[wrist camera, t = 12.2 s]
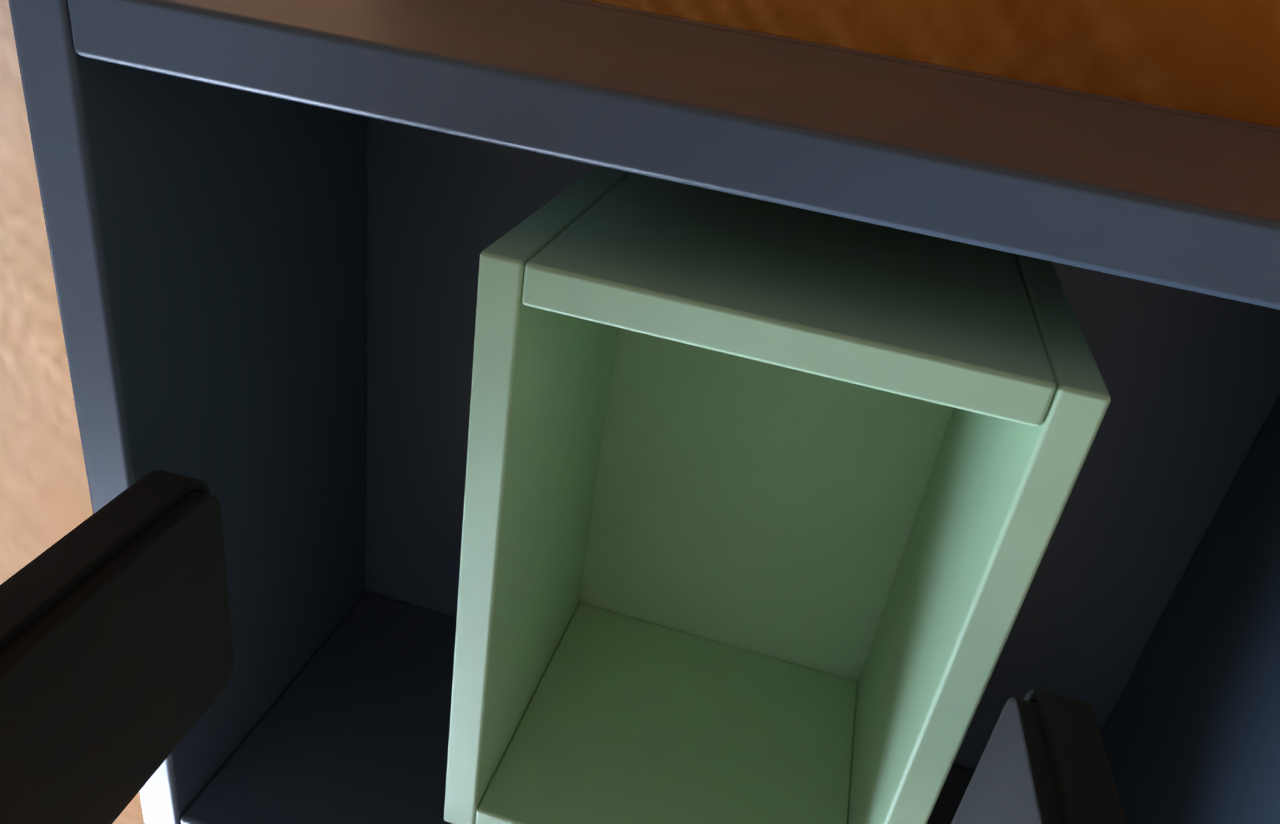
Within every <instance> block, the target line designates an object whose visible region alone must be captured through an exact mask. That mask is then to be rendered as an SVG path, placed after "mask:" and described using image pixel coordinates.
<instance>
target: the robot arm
mask: <svg viewBox="0 0 1280 824" xmlns="http://www.w3.org/2000/svg"><path fill="white" fill-rule="evenodd" d="M233 663H234V658H233V646H232V634H231V622H230V611H229V599H228V587H227V576H226V564H225V552H224V541H223V529H222V517H221V507H220V502H219V500H218V499H217V497H215V496H213V495H211V493H210V489H209V487H208V485H207V484H206V482H204V481H202V480H199V479H195V478H191V477H187V476H183V475H179V474H175V473H171V472H167V471H163V470H153V471H151V472H149V473H147V474H145V475H144V476H143V477H141V478H140V479H139V480H137V481H136V482H135V483H134V484H132V485H131V486H130V487H128V488H127V489H126V490H124V491H123V492H122V493H120V494H119V495H118V496H117V497H115V498H114V499H113V500H111V501H110V502H109V503H107V504H106V505H105V506H103V507H102V508H101V509H100V510H98V511H97V512H96V513H94V514H93V515H92V516H90V517H89V518H88V519H86V520H85V521H84V522H82V523H81V524H80V525H79V526H77V527H76V528H75V529H73V530H72V531H71V532H69V533H68V534H67V535H65V536H64V537H63V538H62V539H60V540H59V541H58V542H56V543H55V544H54V545H52V546H51V547H50V548H48V549H47V550H46V551H45V552H43V553H42V554H41V555H39V556H38V557H37V558H35V559H34V560H33V561H31V562H30V563H29V564H27V565H26V566H25V567H24V568H22V569H21V570H20V571H18V572H17V573H16V574H14V575H13V576H12V577H10V578H9V579H8V580H7V581H5V582H4V583H3V584H1V585H0V824H112V823H113V822H114V821H115V819H116V818H117V817H118V816H119V815H120V813H121V812H122V811H123V810H124V809H125V807H126V806H127V805H128V804H129V803H130V801H131V800H132V799H133V798H134V797H135V795H136V794H137V793H138V792H139V791H140V790H141V788H142V787H143V786H144V785H145V784H146V782H147V781H148V780H149V779H150V778H151V776H152V775H153V774H154V773H155V772H156V770H157V769H158V768H159V767H160V766H161V764H162V763H163V762H164V761H165V760H166V758H167V757H168V756H169V755H170V754H171V752H172V751H173V750H174V749H175V748H176V746H177V745H178V744H179V743H180V742H181V741H182V739H183V738H184V737H185V736H186V735H187V733H188V732H189V731H190V730H191V729H192V727H193V726H194V725H195V724H196V723H197V721H198V720H199V719H200V718H201V717H202V715H203V714H204V713H205V712H206V711H207V709H208V708H209V707H210V706H211V705H212V703H213V702H214V701H215V700H216V699H217V697H218V696H219V695H220V694H221V693H222V691H223V690H224V688H225V687H226V685H227V683H228V681H229V679H230V676H231V673H232V670H233ZM951 824H1127V823H1126V819H1125V816H1124V813H1123V809H1122V806H1121V803H1120V799H1119V796H1118V792H1117V789H1116V786H1115V782H1114V779H1113V776H1112V772H1111V769H1110V765H1109V762H1108V759H1107V755H1106V752H1105V749H1104V745H1103V742H1102V738H1101V735H1100V732H1099V728H1098V725H1097V722H1096V718H1095V715H1094V712H1093V710H1092V708H1091V705H1089V704H1088V703H1087V702H1086V701H1082V700H1078V699H1074V698H1070V697H1066V696H1062V695H1058V694H1054V693H1050V692H1046V691H1042V690H1038V689H1031V690H1030V691H1029V692H1028V693H1027V694H1026V696H1025V698H1024V699H1023V700H1022V699H1018V698H1014V697H1011V698H1010V699H1009V700H1007V702H1006V704H1005V706H1004V708H1003V710H1002V712H1001V714H1000V717H999V719H998V721H997V723H996V725H995V728H994V730H993V732H992V734H991V736H990V739H989V741H988V743H987V745H986V747H985V750H984V752H983V754H982V756H981V758H980V761H979V763H978V765H977V767H976V770H975V772H974V774H973V776H972V778H971V781H970V783H969V785H968V787H967V789H966V792H965V794H964V796H963V798H962V800H961V803H960V805H959V807H958V809H957V811H956V814H955V816H954V818H953V820H952V822H951Z"/></svg>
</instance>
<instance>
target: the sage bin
mask: <svg viewBox="0 0 1280 824" xmlns="http://www.w3.org/2000/svg"><path fill="white" fill-rule="evenodd" d="M1110 402H1111V397H1110V394H1109V392H1108V390H1107V387H1106V385H1105V383H1104V381H1103V378H1102V376H1101V374H1100V371H1099V369H1098V367H1097V364H1096V362H1095V360H1094V358H1093V355H1092V353H1091V351H1090V348H1089V346H1088V344H1087V341H1086V339H1085V337H1084V334H1083V332H1082V330H1081V328H1080V325H1079V323H1078V321H1077V318H1076V316H1075V314H1074V311H1073V309H1072V307H1071V304H1070V302H1069V300H1068V298H1067V295H1066V293H1065V291H1064V288H1063V286H1062V284H1061V281H1060V279H1059V277H1058V275H1057V272H1056V270H1055V268H1054V265H1053V263H1052V262H1051V261H1047V260H1042V259H1037V258H1032V257H1028V256H1023V255H1018V254H1013V253H1009V252H1004V251H999V250H995V249H990V248H985V247H980V246H976V245H971V244H966V243H961V242H957V241H952V240H947V239H943V238H938V237H933V236H928V235H924V234H919V233H914V232H909V231H905V230H900V229H895V228H891V227H886V226H881V225H876V224H872V223H867V222H862V221H857V220H853V219H848V218H843V217H839V216H834V215H829V214H824V213H820V212H815V211H810V210H805V209H801V208H796V207H791V206H787V205H782V204H777V203H772V202H768V201H763V200H758V199H753V198H749V197H744V196H739V195H735V194H730V193H725V192H720V191H716V190H711V189H706V188H701V187H697V186H692V185H687V184H683V183H678V182H673V181H668V180H664V179H659V178H654V177H649V176H645V175H640V174H635V173H631V172H626V171H621V170H616V169H612V168H607V167H602V166H597V167H596V168H595V169H593V170H592V171H590V172H589V173H588V174H586V175H585V176H584V177H582V178H581V179H580V180H578V181H577V182H576V183H574V184H573V185H571V186H570V187H569V188H567V189H566V190H565V191H563V192H562V193H561V194H559V195H558V196H557V197H555V198H554V199H552V200H551V201H550V202H548V203H547V204H546V205H544V206H543V207H542V208H540V209H539V210H537V211H536V212H535V213H533V214H532V215H531V216H529V217H528V218H527V219H525V220H524V221H523V222H521V223H520V224H518V225H517V226H516V227H514V228H513V229H512V230H510V231H509V232H508V233H506V234H505V235H504V236H502V237H501V238H499V239H498V240H497V241H495V242H494V243H493V244H491V245H490V246H489V247H487V248H486V249H485V250H483V251H482V252H481V254H480V262H479V277H478V293H477V308H476V324H475V340H474V355H473V371H472V386H471V402H470V417H469V433H468V449H467V464H466V480H465V495H464V511H463V526H462V542H461V557H460V573H459V589H458V604H457V620H456V635H455V651H454V666H453V682H452V698H451V713H450V729H449V744H448V760H447V775H446V791H445V807H444V820H445V821H447V822H450V823H453V824H927V822H928V820H929V817H930V815H931V813H932V810H933V808H934V806H935V804H936V801H937V799H938V797H939V794H940V792H941V790H942V788H943V785H944V783H945V781H946V778H947V776H948V774H949V771H950V769H951V767H952V765H953V762H954V760H955V758H956V755H957V753H958V751H959V748H960V746H961V744H962V742H963V739H964V737H965V735H966V732H967V730H968V728H969V725H970V723H971V721H972V719H973V716H974V714H975V712H976V709H977V707H978V705H979V703H980V700H981V698H982V696H983V693H984V691H985V689H986V686H987V684H988V682H989V680H990V677H991V675H992V673H993V670H994V668H995V666H996V663H997V661H998V659H999V657H1000V654H1001V652H1002V650H1003V647H1004V645H1005V643H1006V640H1007V638H1008V636H1009V634H1010V631H1011V629H1012V627H1013V624H1014V622H1015V620H1016V618H1017V615H1018V613H1019V611H1020V608H1021V606H1022V604H1023V601H1024V599H1025V597H1026V595H1027V592H1028V590H1029V588H1030V585H1031V583H1032V581H1033V578H1034V576H1035V574H1036V572H1037V569H1038V567H1039V565H1040V562H1041V560H1042V558H1043V556H1044V553H1045V551H1046V549H1047V546H1048V544H1049V542H1050V539H1051V537H1052V535H1053V533H1054V530H1055V528H1056V526H1057V523H1058V521H1059V519H1060V516H1061V514H1062V512H1063V510H1064V507H1065V505H1066V503H1067V500H1068V498H1069V496H1070V493H1071V491H1072V489H1073V487H1074V484H1075V482H1076V480H1077V477H1078V475H1079V473H1080V471H1081V468H1082V466H1083V464H1084V461H1085V459H1086V457H1087V454H1088V452H1089V450H1090V448H1091V445H1092V443H1093V441H1094V438H1095V436H1096V434H1097V431H1098V429H1099V427H1100V425H1101V422H1102V420H1103V418H1104V415H1105V413H1106V411H1107V408H1108V406H1109V404H1110Z"/></svg>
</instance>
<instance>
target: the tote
mask: <svg viewBox="0 0 1280 824" xmlns="http://www.w3.org/2000/svg"><path fill="white" fill-rule="evenodd" d="M9 6H10V12H11V18H12V24H13V30H14V36H15V42H16V48H17V54H18V60H19V66H20V73H21V79H22V85H23V91H24V97H25V103H26V109H27V115H28V121H29V127H30V133H31V139H32V145H33V151H34V157H35V163H36V169H37V176H38V182H39V188H40V194H41V200H42V206H43V212H44V218H45V224H46V230H47V236H48V242H49V248H50V254H51V260H52V266H53V273H54V279H55V285H56V291H57V297H58V303H59V309H60V315H61V321H62V327H63V333H64V339H65V345H66V351H67V357H68V363H69V370H70V376H71V382H72V388H73V394H74V400H75V406H76V412H77V418H78V424H79V430H80V436H81V442H82V448H83V454H84V460H85V466H86V473H87V479H88V485H89V491H90V497H91V503H92V509H93V514H94V513H96V512H97V511H98V510H100V509H101V508H102V507H103V506H105V505H106V504H107V503H109V502H110V501H111V500H113V499H114V498H115V497H117V496H118V495H119V494H120V493H122V492H123V491H124V490H126V489H127V488H128V487H130V486H131V485H132V484H134V483H135V482H136V481H137V480H139V479H140V478H141V477H143V476H144V475H145V474H147V473H149V472H151V471H153V470H163V471H167V472H171V473H175V474H179V475H183V476H187V477H191V478H195V479H199V480H202V481H204V482H206V484H207V485H208V487H209V489H210V493H211V495H213V496H215V497H217V499H218V500H219V502H220V507H221V517H222V529H223V541H224V552H225V564H226V576H227V587H228V599H229V611H230V622H231V634H232V646H233V658H234V663H233V670H232V673H231V676H230V679H229V681H228V683H227V685H226V687H225V688H224V690H223V691H222V693H221V694H220V695H219V696H218V697H217V699H216V700H215V701H214V702H213V703H212V705H211V706H210V707H209V708H208V709H207V711H206V712H205V713H204V714H203V715H202V717H201V718H200V719H199V720H198V721H197V723H196V724H195V725H194V726H193V727H192V729H191V730H190V731H189V732H188V733H187V735H186V736H185V737H184V738H183V739H182V741H181V742H180V743H179V744H178V745H177V746H176V748H175V749H174V750H173V751H172V752H171V754H170V755H169V756H168V757H167V758H166V760H165V761H164V762H163V763H162V764H161V766H160V767H159V768H158V769H157V770H156V772H155V773H154V774H153V775H152V776H151V778H150V779H149V780H148V781H147V782H146V784H145V785H144V786H143V787H142V788H141V790H140V791H139V794H140V800H141V806H142V812H143V818H144V824H453V823H450V822H447V821H445V820H444V807H445V791H446V775H447V760H448V744H449V729H450V713H451V698H452V682H453V666H454V651H455V635H456V620H457V604H458V589H459V573H460V557H461V542H462V526H463V511H464V495H465V480H466V464H467V449H468V433H469V417H470V402H471V386H472V371H473V355H474V340H475V324H476V308H477V293H478V277H479V262H480V254H481V252H482V251H483V250H485V249H486V248H487V247H489V246H490V245H491V244H493V243H494V242H495V241H497V240H498V239H499V238H501V237H502V236H504V235H505V234H506V233H508V232H509V231H510V230H512V229H513V228H514V227H516V226H517V225H518V224H520V223H521V222H523V221H524V220H525V219H527V218H528V217H529V216H531V215H532V214H533V213H535V212H536V211H537V210H539V209H540V208H542V207H543V206H544V205H546V204H547V203H548V202H550V201H551V200H552V199H554V198H555V197H557V196H558V195H559V194H561V193H562V192H563V191H565V190H566V189H567V188H569V187H570V186H571V185H573V184H574V183H576V182H577V181H578V180H580V179H581V178H582V177H584V176H585V175H586V174H588V173H589V172H590V171H592V170H593V169H595V168H596V167H597V166H602V167H607V168H612V169H616V170H621V171H626V172H631V173H635V174H640V175H645V176H649V177H654V178H659V179H664V180H668V181H673V182H678V183H683V184H687V185H692V186H697V187H701V188H706V189H711V190H716V191H720V192H725V193H730V194H735V195H739V196H744V197H749V198H753V199H758V200H763V201H768V202H772V203H777V204H782V205H787V206H791V207H796V208H801V209H805V210H810V211H815V212H820V213H824V214H829V215H834V216H839V217H843V218H848V219H853V220H857V221H862V222H867V223H872V224H876V225H881V226H886V227H891V228H895V229H900V230H905V231H909V232H914V233H919V234H924V235H928V236H933V237H938V238H943V239H947V240H952V241H957V242H961V243H966V244H971V245H976V246H980V247H985V248H990V249H995V250H999V251H1004V252H1009V253H1013V254H1018V255H1023V256H1028V257H1032V258H1037V259H1042V260H1047V261H1051V262H1052V263H1053V265H1054V268H1055V270H1056V272H1057V275H1058V277H1059V279H1060V281H1061V284H1062V286H1063V288H1064V291H1065V293H1066V295H1067V298H1068V300H1069V302H1070V304H1071V307H1072V309H1073V311H1074V314H1075V316H1076V318H1077V321H1078V323H1079V325H1080V328H1081V330H1082V332H1083V334H1084V337H1085V339H1086V341H1087V344H1088V346H1089V348H1090V351H1091V353H1092V355H1093V358H1094V360H1095V362H1096V364H1097V367H1098V369H1099V371H1100V374H1101V376H1102V378H1103V381H1104V383H1105V385H1106V387H1107V390H1108V392H1109V394H1110V397H1111V402H1110V404H1109V406H1108V408H1107V411H1106V413H1105V415H1104V418H1103V420H1102V422H1101V425H1100V427H1099V429H1098V431H1097V434H1096V436H1095V438H1094V441H1093V443H1092V445H1091V448H1090V450H1089V452H1088V454H1087V457H1086V459H1085V461H1084V464H1083V466H1082V468H1081V471H1080V473H1079V475H1078V477H1077V480H1076V482H1075V484H1074V487H1073V489H1072V491H1071V493H1070V496H1069V498H1068V500H1067V503H1066V505H1065V507H1064V510H1063V512H1062V514H1061V516H1060V519H1059V521H1058V523H1057V526H1056V528H1055V530H1054V533H1053V535H1052V537H1051V539H1050V542H1049V544H1048V546H1047V549H1046V551H1045V553H1044V556H1043V558H1042V560H1041V562H1040V565H1039V567H1038V569H1037V572H1036V574H1035V576H1034V578H1033V581H1032V583H1031V585H1030V588H1029V590H1028V592H1027V595H1026V597H1025V599H1024V601H1023V604H1022V606H1021V608H1020V611H1019V613H1018V615H1017V618H1016V620H1015V622H1014V624H1013V627H1012V629H1011V631H1010V634H1009V636H1008V638H1007V640H1006V643H1005V645H1004V647H1003V650H1002V652H1001V654H1000V657H999V659H998V661H997V663H996V666H995V668H994V670H993V673H992V675H991V677H990V680H989V682H988V684H987V686H986V689H985V691H984V693H983V696H982V698H981V700H980V703H979V705H978V707H977V709H976V712H975V714H974V716H973V719H972V721H971V723H970V725H969V728H968V730H967V732H966V735H965V737H964V739H963V742H962V744H961V746H960V748H959V751H958V753H957V755H956V758H955V760H954V762H953V765H952V767H951V769H950V771H949V774H948V776H947V778H946V781H945V783H944V785H943V788H942V790H941V792H940V794H939V797H938V799H937V801H936V804H935V806H934V808H933V810H932V813H931V815H930V817H929V820H928V822H927V824H951V822H952V820H953V818H954V816H955V814H956V811H957V809H958V807H959V805H960V803H961V800H962V798H963V796H964V794H965V792H966V789H967V787H968V785H969V783H970V781H971V778H972V776H973V774H974V772H975V770H976V767H977V765H978V763H979V761H980V758H981V756H982V754H983V752H984V750H985V747H986V745H987V743H988V741H989V739H990V736H991V734H992V732H993V730H994V728H995V725H996V723H997V721H998V719H999V717H1000V714H1001V712H1002V710H1003V708H1004V706H1005V704H1006V702H1007V700H1009V699H1010V698H1011V697H1014V698H1018V699H1022V700H1023V699H1024V698H1025V696H1026V694H1027V693H1028V692H1029V691H1030V690H1031V689H1038V690H1042V691H1046V692H1050V693H1054V694H1058V695H1062V696H1066V697H1070V698H1074V699H1078V700H1082V701H1086V702H1087V703H1088V704H1089V705H1091V708H1092V710H1093V712H1094V715H1095V718H1096V722H1097V725H1098V728H1099V732H1100V735H1101V738H1102V742H1103V745H1104V749H1105V752H1106V755H1107V759H1108V762H1109V765H1110V769H1111V772H1112V776H1113V779H1114V782H1115V786H1116V789H1117V792H1118V796H1119V799H1120V803H1121V806H1122V809H1123V813H1124V816H1125V819H1126V823H1127V824H1280V128H1279V127H1273V126H1268V125H1262V124H1257V123H1252V122H1246V121H1241V120H1235V119H1230V118H1224V117H1219V116H1214V115H1208V114H1203V113H1197V112H1192V111H1186V110H1181V109H1175V108H1170V107H1165V106H1159V105H1154V104H1148V103H1143V102H1137V101H1132V100H1126V99H1121V98H1116V97H1110V96H1105V95H1099V94H1094V93H1088V92H1083V91H1077V90H1072V89H1067V88H1061V87H1056V86H1050V85H1045V84H1039V83H1034V82H1029V81H1023V80H1018V79H1012V78H1007V77H1001V76H996V75H990V74H985V73H980V72H974V71H969V70H963V69H958V68H952V67H947V66H941V65H936V64H931V63H925V62H920V61H914V60H909V59H903V58H898V57H892V56H887V55H882V54H876V53H871V52H865V51H860V50H854V49H849V48H843V47H838V46H833V45H827V44H822V43H816V42H811V41H805V40H800V39H795V38H789V37H784V36H778V35H773V34H767V33H762V32H756V31H751V30H746V29H740V28H735V27H729V26H724V25H718V24H713V23H707V22H702V21H697V20H691V19H686V18H680V17H675V16H669V15H664V14H658V13H653V12H648V11H642V10H637V9H631V8H626V7H620V6H615V5H610V4H604V3H599V2H593V1H588V0H9Z"/></svg>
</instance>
